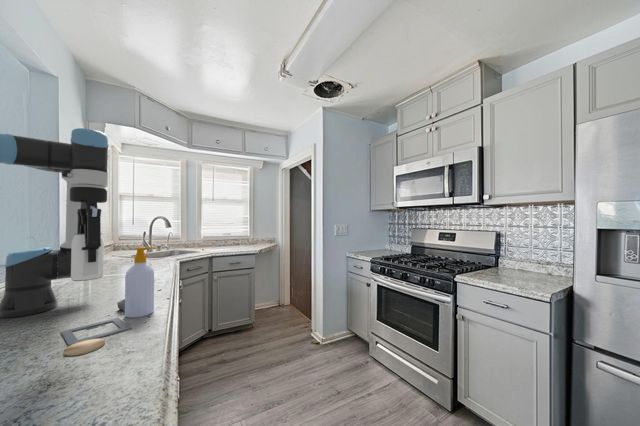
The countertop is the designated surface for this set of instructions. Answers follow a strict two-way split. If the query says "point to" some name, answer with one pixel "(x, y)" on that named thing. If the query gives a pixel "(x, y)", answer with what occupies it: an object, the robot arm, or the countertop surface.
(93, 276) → the can
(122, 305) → the stone
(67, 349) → the coaster
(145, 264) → the soap bottle
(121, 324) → the frame
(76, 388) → the countertop surface
